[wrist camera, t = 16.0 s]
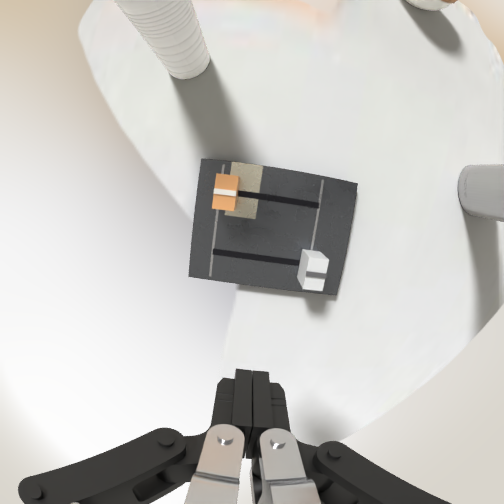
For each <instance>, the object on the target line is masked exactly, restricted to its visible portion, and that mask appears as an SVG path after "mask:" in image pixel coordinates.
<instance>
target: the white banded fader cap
mask: <svg viewBox="0 0 504 504" xmlns="http://www.w3.org/2000/svg"><path fill="white" fill-rule="evenodd" d="M328 263H329V259H328V258H327V257H326V256H324V255H323V254H322V253H321V252H320V251H313V250H306V249H302V253H301V259H300V264H299V270H298V275H297V279H298V281H299V282H300V284H301V286H302V288H303V289H307V290H316V291H323V286H324V282H325V279H326V275H327V274H326V273H327V268H328Z"/></svg>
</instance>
